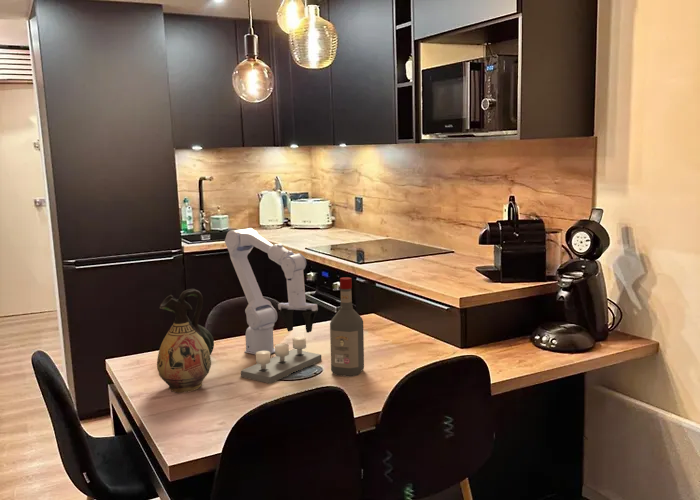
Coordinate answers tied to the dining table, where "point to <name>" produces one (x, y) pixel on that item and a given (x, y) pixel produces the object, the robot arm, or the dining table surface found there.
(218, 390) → the dining table surface
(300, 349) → the knob
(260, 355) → the knob
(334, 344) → the liquor
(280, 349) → the knob middle
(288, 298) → the robot arm
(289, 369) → the mount board
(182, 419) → the dining table surface
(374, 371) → the dining table surface
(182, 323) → the ceramic jug
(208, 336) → the squash
